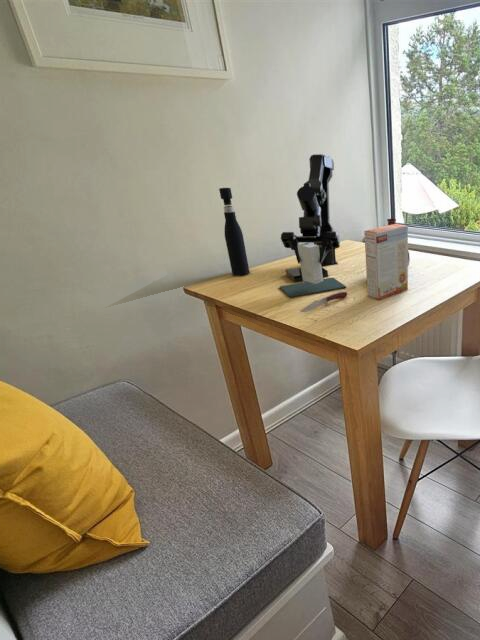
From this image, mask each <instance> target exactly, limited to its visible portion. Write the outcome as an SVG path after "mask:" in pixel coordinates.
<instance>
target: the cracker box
mask: <svg viewBox="0 0 480 640" xmlns="http://www.w3.org/2000/svg"><path fill="white" fill-rule="evenodd" d="M364 249H365V253H364V254H365V270H366V271H365V272H366V288H367V290H366V291H367V296H368V297H370V298H373V299H376V300H381V299H384V298H387V297H390V296H393V295H396V294H398V293H400V292H403V291H406V290H408V289H409V265H408V251H409V226H408V225H405V224H401V223H395V224H393V225H388V224H387V225H384V226H379V227H375V228H371V229H366V230H364Z"/></svg>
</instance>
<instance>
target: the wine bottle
mask: <svg viewBox="0 0 480 640" xmlns="http://www.w3.org/2000/svg"><path fill="white" fill-rule="evenodd" d="M218 191H219V196H220V199H221V200H223V205H224V206H223V211H224V212H223V215H224V221H225V222H224V240H225V244H226V250H227V254H228V259H229V264H230V269H231V275H232V276H233V277H244V276H247V275H250V268H249V262H248V256H247V250H246V245H245V238H244V233H243V230H242V228H241V226H240V224H239V222H238V220H237V216H236V211H234V210H235V209H234V206H233V205H232V199H233V193H232V188H231V187H220V188H218Z"/></svg>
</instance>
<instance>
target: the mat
mask: <svg viewBox="0 0 480 640" xmlns="http://www.w3.org/2000/svg"><path fill="white" fill-rule="evenodd" d="M279 289H280V290H281V291H282V292H283V293H284V294H285V295H286V296H287V297H288V298H289V299H294V298H300V297H306V296H310V295H316V294H322V293H328V292H334V291H338V290H344V289H347V286H346V285H345V284H344V283H341V281H339V280H337V279H336V278H334V277H326V278H323V281H322V282H320V283H317V284H313V283H309V282H305V281H302V282H296V283H292V284H286V285H280V286H279Z"/></svg>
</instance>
